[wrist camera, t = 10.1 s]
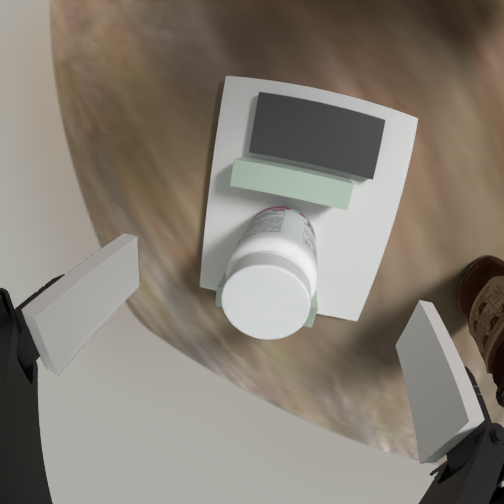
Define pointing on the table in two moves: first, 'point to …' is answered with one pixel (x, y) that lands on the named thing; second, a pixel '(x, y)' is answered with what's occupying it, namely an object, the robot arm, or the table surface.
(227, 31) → the table surface
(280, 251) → the pill bottle
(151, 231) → the table surface
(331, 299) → the dock
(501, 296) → the coffee cup
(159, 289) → the table surface
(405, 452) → the table surface
